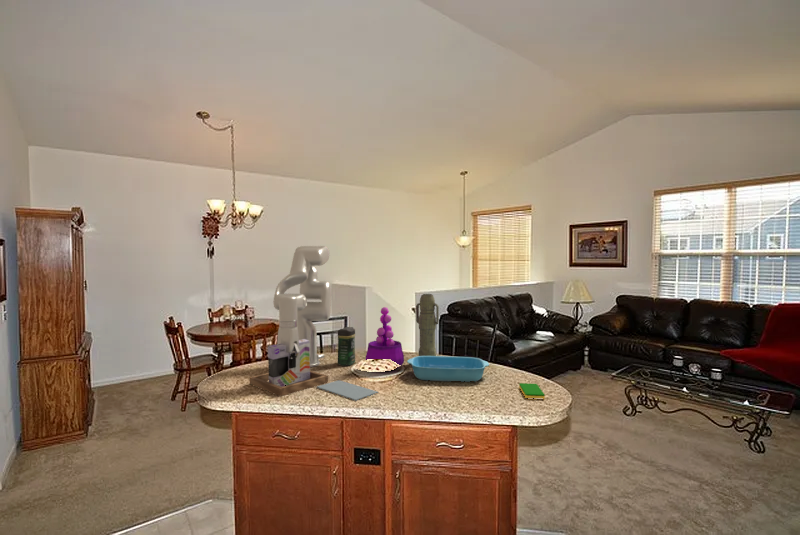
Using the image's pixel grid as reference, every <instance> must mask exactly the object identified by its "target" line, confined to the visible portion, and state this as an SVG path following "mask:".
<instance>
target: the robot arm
mask: <svg viewBox="0 0 800 535" xmlns="http://www.w3.org/2000/svg"><path fill="white" fill-rule="evenodd" d="M329 259H330V250H329V248H328V246H326V245H303V246H302V245H301V246H298V247H296V248H295V249H294V253H293V257H292V261H291V267H290V270H289V274H287V275H286V276H285V277H284V278H282V280H280V282H279V283H278V284H277V286H276V288H275V292H274V295H273V302H272V303H273V307H274V309H275V310H277V311H278V312H279V313H278V314H279V315H278V321H279V323H278V324H279V327H278V331H277V342H276V343H277V344H284V345H286V352H288V353H289V356H290V359H289V368H290V369H291V368H295V367H296V358H297V355H298V354H299V353H300V351H299V340H302V339H306V340H309V344H310V368H313V367H317V366H319V365H320V364H321V361H320V359H324V358H325V354H323V353H321V354H318V353H317V350H318V349H317V346H318V345H317V328H316V326H315V324H314V322H325V321H328V320H329V319H330V318H331V313H332V312H331V307H332V285H331V283H330V282H329V281H327V280H318V278H319V277H318V275H319V273H318V270H317V268H316V267H318V266H319V267H320V266H321V267H322V266H323V265H325V264H326V263H328V261H329ZM315 266H316V267H315ZM298 285H299V293H285V292H286V291H287V290H289V289H291V288H292V287H296V286H298ZM308 300H310V301H308ZM311 300H315V301H311ZM316 300H318V301H316ZM293 350H294V351H293ZM292 353H293V355H292Z"/></svg>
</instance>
